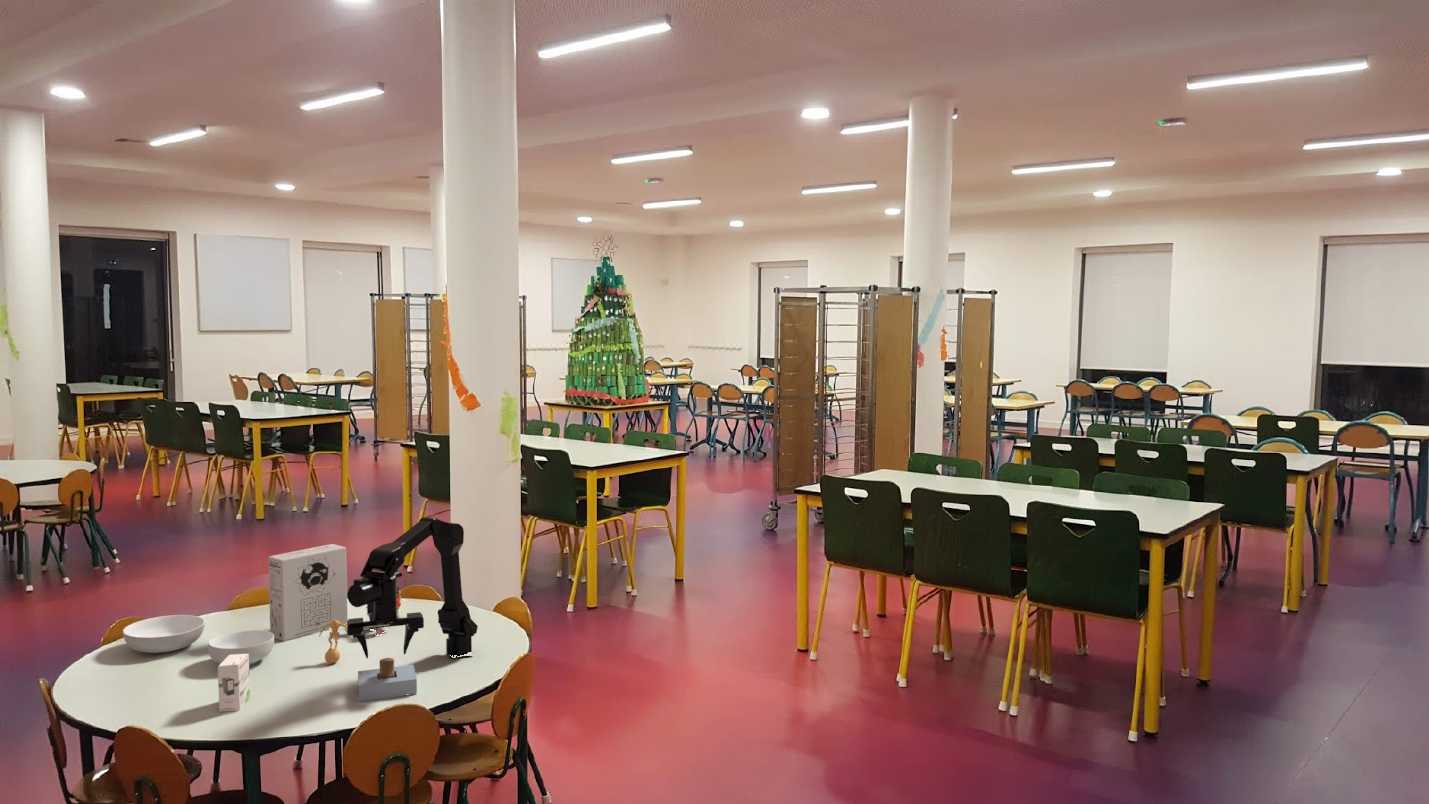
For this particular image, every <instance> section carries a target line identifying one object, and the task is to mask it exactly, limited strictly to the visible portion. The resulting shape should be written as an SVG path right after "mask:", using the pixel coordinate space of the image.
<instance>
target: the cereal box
mask: <svg viewBox="0 0 1429 804" xmlns="http://www.w3.org/2000/svg"><path fill="white" fill-rule="evenodd" d="M267 560H268V565H267V566H268V591H269V593H268V594H269V596H268V597H269V600H268V601H269V626H270V627H269V628H270V629H269V632H271V633H273V634H274V640H275V639H276V640H277V641H281V642H287V641H291V640H295V639H297V638H302V637H305V636H310V635H312V634H318V633H321V631H322V629H323V628H324V626H325V625H327V624H329V623H331V622H332V621H333V620H334V619H335V620H338V621H339V622H340V623H342V624H346V623H347V621H348V620H349V618H348V616H349V615H348V614H349V613H348V597H347V592H348V576H347V575H348V573H347V570H348V569H347V547H346V546H344V545H343V546H342V545H339V544H334V543H329V544H324V545H320V546H319V545H318V546H314V547H309V548H305V549H300V550H294V551H289V552H283V553H279V554H274V555H269V556H267ZM346 625H347V624H346ZM328 628H331V626H328V627H325V629H324V631H326V629H328ZM331 629H332V628H331ZM328 630H329V629H328Z"/></svg>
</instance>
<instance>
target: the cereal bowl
mask: <svg viewBox="0 0 1429 804" xmlns="http://www.w3.org/2000/svg"><path fill="white" fill-rule="evenodd" d="M274 644H275V638H274V634H273V633H271V632H270V631H268V630H263V629H262V630H260V629H249V630H248V629H247V630H237V631H233V632H232V631H231V632H228V633H227V632H226V633H223V634H220V635H217V636H214V637H212V638H211V639H210V640H209V641H208V642H207V650H208V651H207V652H208V655H209V657H210V658H211V659H212V660H213V661H214V662H216V663H218V664H219V665H220V664H221V663H222V662H223V661H224V660H225V659H226V658H227V657H228V656H229V655H235V654H249V667H250V666H253V665H254V664H255V665H256V663H257V662H258V661H261V660H263V659H264V658H266V657H268V656H269V655H270V654H271V652H272V650H273V649H274V646H275V645H274Z"/></svg>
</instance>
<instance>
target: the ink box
mask: <svg viewBox="0 0 1429 804" xmlns="http://www.w3.org/2000/svg"><path fill="white" fill-rule="evenodd" d="M217 679H218V681H217V683H218V709H219V712H237V711H238V712H239V711H241V709H242V708H243V707H244V706H245V705H246V703H248V700H249V699H250V697H251V695H250V692H251V691H250V666H249V654H235V655H229V656H228V657H227V658H226V659H225V660H224V661H223V662H222V663H221V664H220V663H219V665H218V666H217Z"/></svg>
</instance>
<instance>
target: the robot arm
mask: <svg viewBox="0 0 1429 804" xmlns="http://www.w3.org/2000/svg"><path fill="white" fill-rule="evenodd" d="M464 531H465V530H464V527H463V526H462V525H461V524H459V523H455V522H448V521H444V520H440V519H438V517H437V518H436V517H428V516H424V517H421V518H420V519H419V521H418V522H417V523H416V524H414V525H413V526H412V527H410V528H409V529H408V530H406V531H405V532H404V533H403V534H401V535H400V536H399V537H397V538H396V539H395V540H393V541H391V542H388V543H384V544H381V545H379V546H377V547H375V548H374V549H372V551H371V552H370V553H369V556H368V558H367V560H366V563H365V564H364V566H363V569H362V571H361V574H360V577H361V578H356V579H353V584H352V585H351V586H349V588H348V589H347V601H348V603H349V604H350V605H351V606H353V607H355V608H360V607H363V606H365V605H366V607H367V608H366V612H367V613H366V615H367V614H373V619H374V621H370V620H366V621H365V620H364V618H363V617H355V618H354V617H353V618H348V621H347V624H346V626H347V632H346V636H347V635H349V636H352V638H353V639H357V640H358V642H359V644H360V646H361V648H362V650H363V653H364V655H365V658H366V659H368V658H369V649H368V643H367V637H366V631H365V630H368V629H369V630H370V628H380V627H383V628H389V627H400V626H404V627H405V628H404V629H405V630H404V631H405V633H404V640H403V641H404V642H403V655H406V653H407V651H408V649H409V648H408V647H409V645H410V643H411V640H412V639H413V637H414V634H415V633H416V632H417V633H418V632H419V630H420V629H423V628H425V627H424V626H425V623H424V622H425V621H424V616H423V614H422V613H421V612H420V611H419V612H408V613H406V617H400V618H397V586H398V585H397V583H398V582H397V578H402V576H403V572H400V571H399V570H398V569H400V567H402V565H403V564H404V563H405V562H406V561H405V559H406V557H407V555H408V554H409V553H411V552H412V551H413V550H414V549H416V548H417V547H418V546H420V545H421V544H422V543H423V542H424V541H425V540H427V539H428V538H430V537H432V540H433V545H434V547H435V548H436V550H437V552H438V553H439V554H440V562H441V563H440V564H441V576H442V588H443V599H444V603H443V605H442V606H441V608H440V609H438V610H437V616H438V620H437V624H439V626H440V628H441V631H442V634H443V635H447V638H446V639H445V643H446V644H445V645H446V647H445V649H446V651H445V652H446V655H447V656H448V658H449V657H450V658H452V657H451V656H452V655H453V657H454V655H457V656H460V655H464V654H467V653H468V652H472V651H473V650H472V648H473V647H472V645H473V644H472V643H473V642H472V637H474V636H475V635H476V634H477V631H478V629H479V627H478V625H477V624H476V623H475V621H474V620H473V619H472V618H471V614H470V609H469V607H468V606H467V604H466V602H464V600H463V592H462V591H463V590H462V579H461V565H460V553H459V552H460V551H461V548H462V547H463V544H464V537H465V535H464V534H465V532H464ZM472 653H473V652H472ZM449 655H451V656H449ZM457 656H456V657H457ZM450 658H449V659H450ZM452 659H453V658H452Z"/></svg>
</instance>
